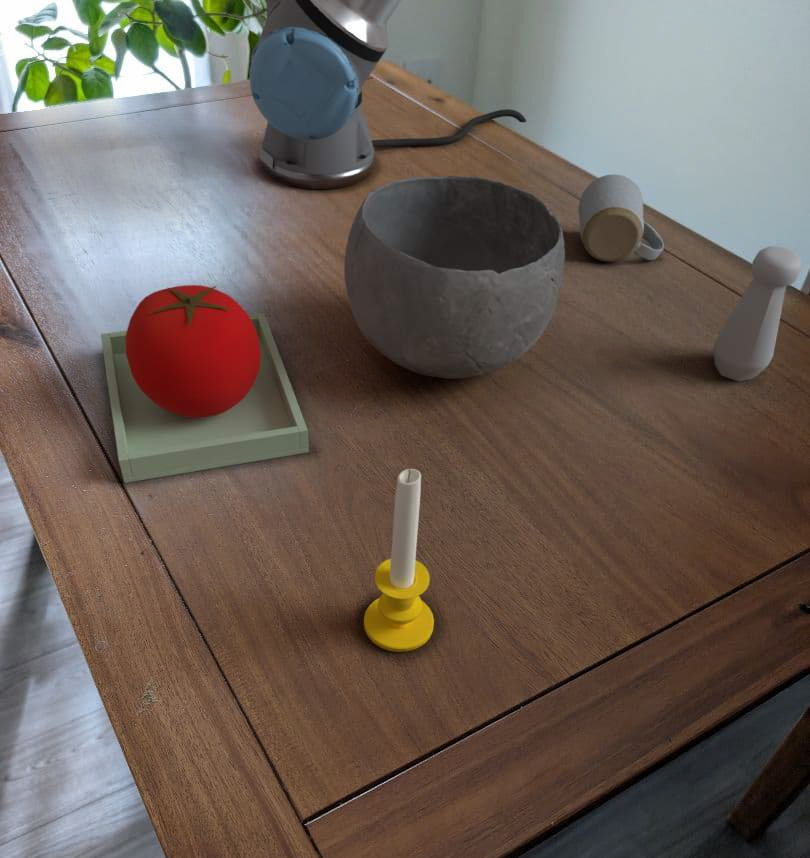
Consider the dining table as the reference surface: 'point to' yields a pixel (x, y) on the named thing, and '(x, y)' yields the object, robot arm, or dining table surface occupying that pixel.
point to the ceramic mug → (616, 221)
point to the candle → (402, 579)
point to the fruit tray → (203, 419)
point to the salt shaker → (756, 316)
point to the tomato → (193, 350)
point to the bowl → (453, 273)
